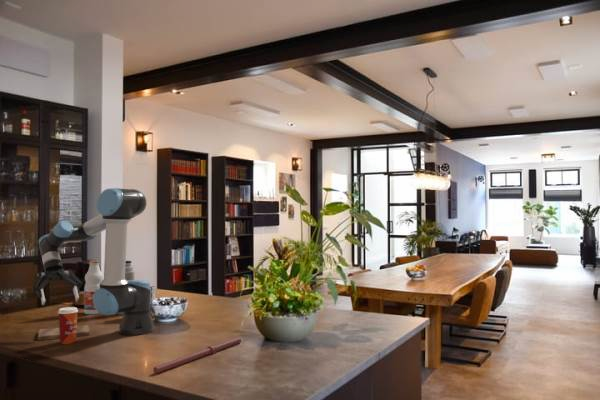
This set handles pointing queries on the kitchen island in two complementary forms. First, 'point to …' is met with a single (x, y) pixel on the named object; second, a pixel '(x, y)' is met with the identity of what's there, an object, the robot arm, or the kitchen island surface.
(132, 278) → the thermos bottle
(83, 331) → the walnut board
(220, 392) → the kitchen island surface
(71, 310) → the paper cup
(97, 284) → the fruit juice
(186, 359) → the brown thin rod
